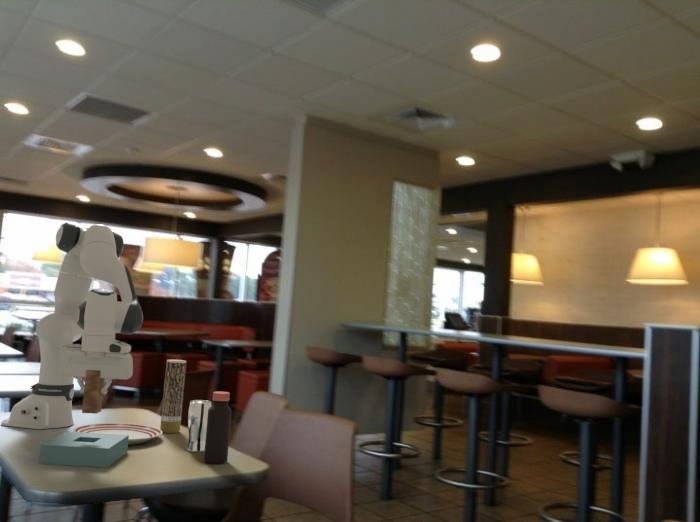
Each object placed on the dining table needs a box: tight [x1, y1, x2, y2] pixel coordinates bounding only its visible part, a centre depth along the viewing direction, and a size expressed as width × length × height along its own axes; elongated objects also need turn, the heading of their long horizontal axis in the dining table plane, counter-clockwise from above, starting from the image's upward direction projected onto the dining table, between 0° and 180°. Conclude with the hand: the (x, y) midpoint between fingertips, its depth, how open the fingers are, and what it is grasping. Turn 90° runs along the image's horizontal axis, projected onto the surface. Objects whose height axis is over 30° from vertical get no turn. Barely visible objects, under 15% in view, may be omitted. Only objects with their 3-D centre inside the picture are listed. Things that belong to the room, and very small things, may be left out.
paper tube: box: [159, 359, 187, 434], centre depth 217 cm, size 7×7×25 cm
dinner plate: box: [72, 422, 164, 446], centre depth 200 cm, size 28×27×3 cm
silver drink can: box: [186, 399, 212, 453], centre depth 193 cm, size 7×7×15 cm
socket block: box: [38, 431, 129, 468], centre depth 174 cm, size 18×18×5 cm
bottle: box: [203, 390, 233, 465], centre depth 180 cm, size 7×7×20 cm
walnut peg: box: [81, 370, 105, 415], centre depth 175 cm, size 4×4×12 cm
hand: (93, 393), depth 175 cm, fingers closed on walnut peg, 4 cm apart
